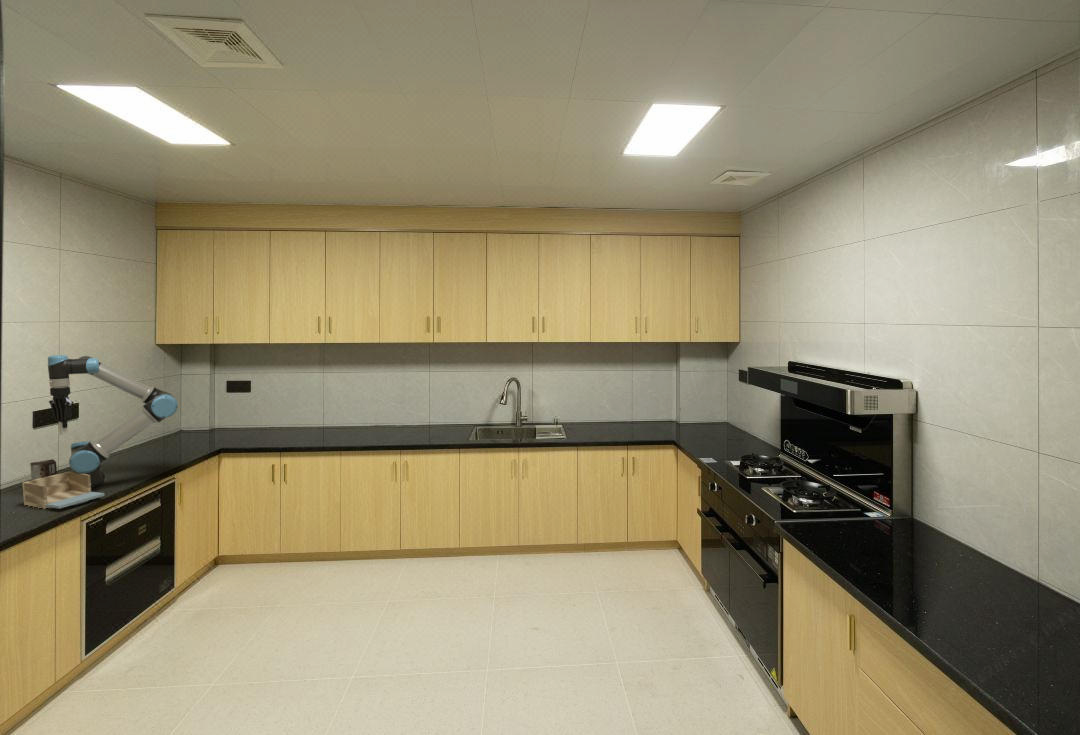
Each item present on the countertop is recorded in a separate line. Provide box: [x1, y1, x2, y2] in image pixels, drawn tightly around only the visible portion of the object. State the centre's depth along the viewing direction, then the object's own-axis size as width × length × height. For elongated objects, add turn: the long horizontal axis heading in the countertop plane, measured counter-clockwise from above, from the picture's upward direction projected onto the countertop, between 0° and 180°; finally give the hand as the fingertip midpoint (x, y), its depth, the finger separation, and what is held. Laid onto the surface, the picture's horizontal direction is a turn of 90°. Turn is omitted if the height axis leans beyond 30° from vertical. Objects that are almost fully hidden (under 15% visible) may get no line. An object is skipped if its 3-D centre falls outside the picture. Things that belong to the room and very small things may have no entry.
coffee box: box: [29, 459, 58, 480], centre depth 284 cm, size 9×6×16 cm
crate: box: [22, 470, 92, 510], centre depth 275 cm, size 20×15×11 cm
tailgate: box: [46, 491, 105, 510], centre depth 271 cm, size 20×2×9 cm
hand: (63, 434), depth 282 cm, fingers closed
